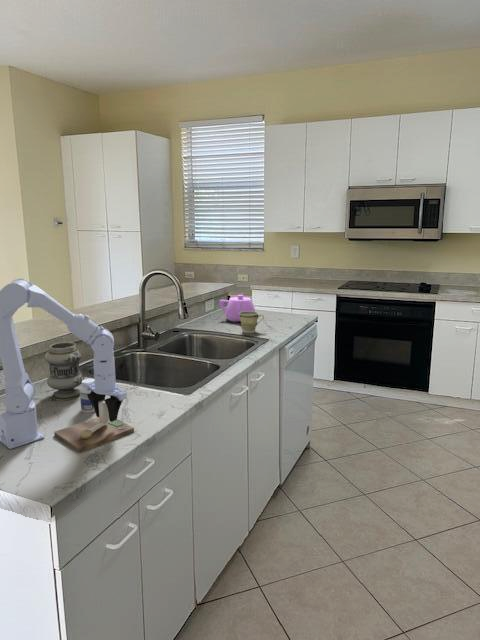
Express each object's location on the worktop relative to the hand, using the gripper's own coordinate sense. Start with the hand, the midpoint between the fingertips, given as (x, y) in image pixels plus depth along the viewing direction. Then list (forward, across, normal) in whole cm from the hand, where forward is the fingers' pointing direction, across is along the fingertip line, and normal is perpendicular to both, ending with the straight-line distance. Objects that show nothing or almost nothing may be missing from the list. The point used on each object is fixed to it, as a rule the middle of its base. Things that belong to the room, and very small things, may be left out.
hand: (106, 418), depth 138 cm
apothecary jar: (+4, +33, -12) cm, 35 cm away
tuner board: (+4, +2, +3) cm, 5 cm away
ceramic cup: (+4, +27, -124) cm, 127 cm away
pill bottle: (+4, +16, -8) cm, 18 cm away
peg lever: (+2, +1, +4) cm, 5 cm away
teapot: (+4, +46, -144) cm, 152 cm away
